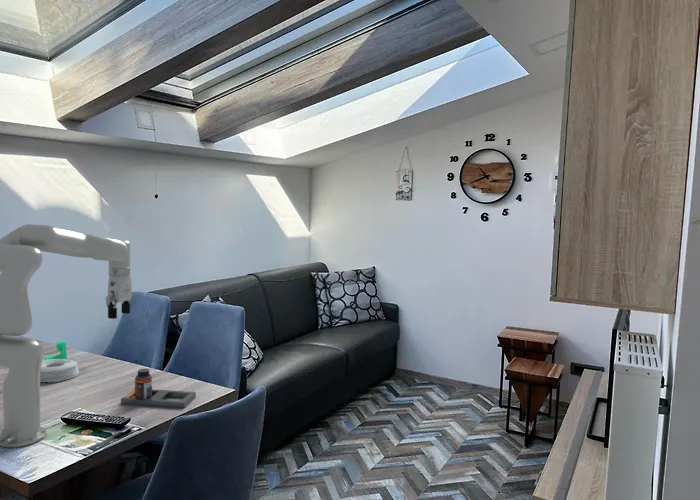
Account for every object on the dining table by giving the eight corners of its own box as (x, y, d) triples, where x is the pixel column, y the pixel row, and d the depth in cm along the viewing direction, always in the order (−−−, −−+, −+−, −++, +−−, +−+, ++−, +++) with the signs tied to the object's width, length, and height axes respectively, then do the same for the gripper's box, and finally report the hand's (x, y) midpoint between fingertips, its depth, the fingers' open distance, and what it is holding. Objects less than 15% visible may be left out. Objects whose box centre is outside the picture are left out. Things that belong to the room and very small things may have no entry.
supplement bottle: (131, 400, 187) (131, 370, 186) (144, 395, 192) (144, 366, 191) (142, 403, 184) (142, 373, 183) (155, 398, 189) (155, 369, 189)
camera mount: (44, 361, 229) (44, 339, 228) (63, 359, 233) (63, 337, 233) (47, 368, 219) (47, 345, 219) (67, 366, 224) (66, 343, 223)
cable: (28, 374, 211) (28, 360, 211) (74, 368, 222) (74, 354, 221) (32, 387, 197) (32, 372, 197) (82, 379, 208) (82, 365, 208)
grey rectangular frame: (184, 408, 182) (184, 402, 182) (120, 404, 183) (120, 398, 183) (195, 397, 193) (195, 392, 193) (135, 393, 194) (135, 388, 194)
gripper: (116, 275, 183) (116, 321, 184) (139, 269, 200) (139, 311, 201) (97, 274, 183) (97, 320, 185) (121, 269, 200) (121, 310, 202)
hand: (119, 315), depth 193 cm, fingers open, 9 cm apart
